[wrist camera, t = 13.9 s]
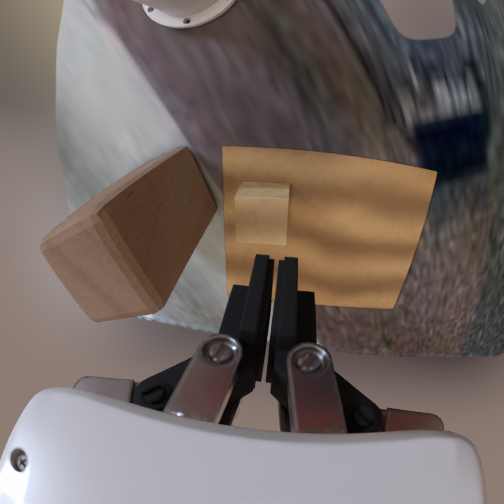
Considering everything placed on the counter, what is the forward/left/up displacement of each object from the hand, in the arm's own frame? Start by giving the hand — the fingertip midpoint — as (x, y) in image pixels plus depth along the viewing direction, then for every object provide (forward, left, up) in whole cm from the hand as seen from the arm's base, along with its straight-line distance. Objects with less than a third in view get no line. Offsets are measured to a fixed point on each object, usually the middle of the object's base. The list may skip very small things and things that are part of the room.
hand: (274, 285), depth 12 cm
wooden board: (+12, +6, -25) cm, 28 cm away
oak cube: (+7, -2, -25) cm, 26 cm away
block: (+6, -15, -25) cm, 30 cm away
